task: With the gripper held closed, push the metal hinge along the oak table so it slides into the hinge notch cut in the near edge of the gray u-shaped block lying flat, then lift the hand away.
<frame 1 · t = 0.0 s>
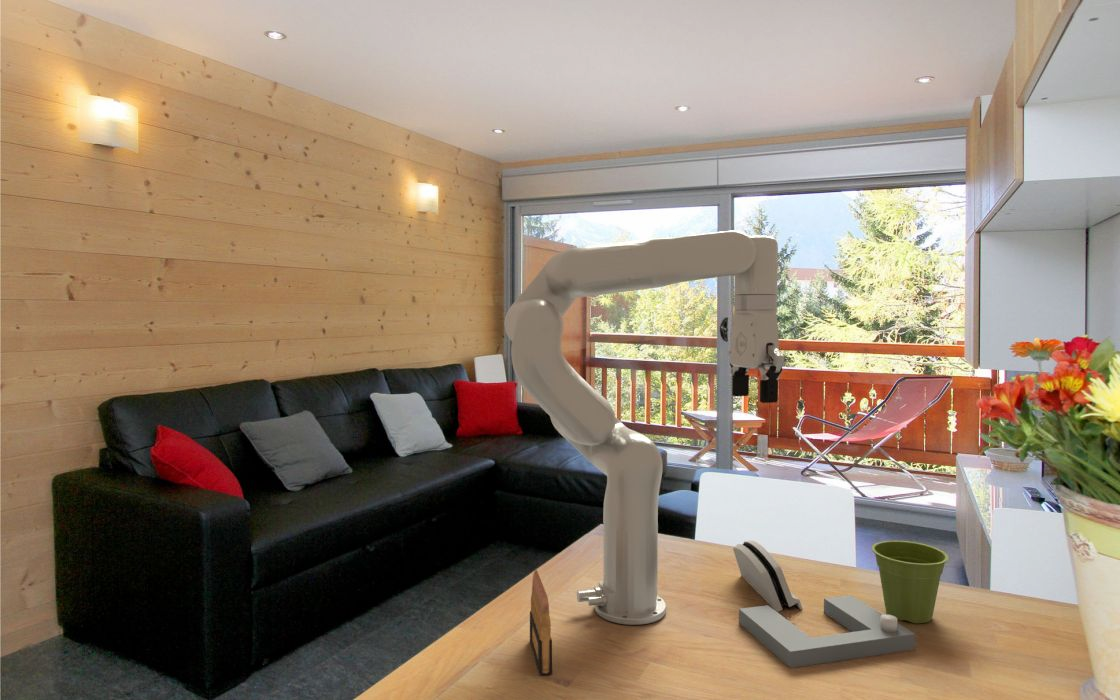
hand: (754, 399, 123), 37 cm above the table, tool pointing down, fingers open, 9 cm apart
plant pot: (907, 616, 117), on the table
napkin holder: (540, 658, 103), on the table
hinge: (763, 593, 127), on the table
gray u-shaped block: (823, 635, 110), on the table
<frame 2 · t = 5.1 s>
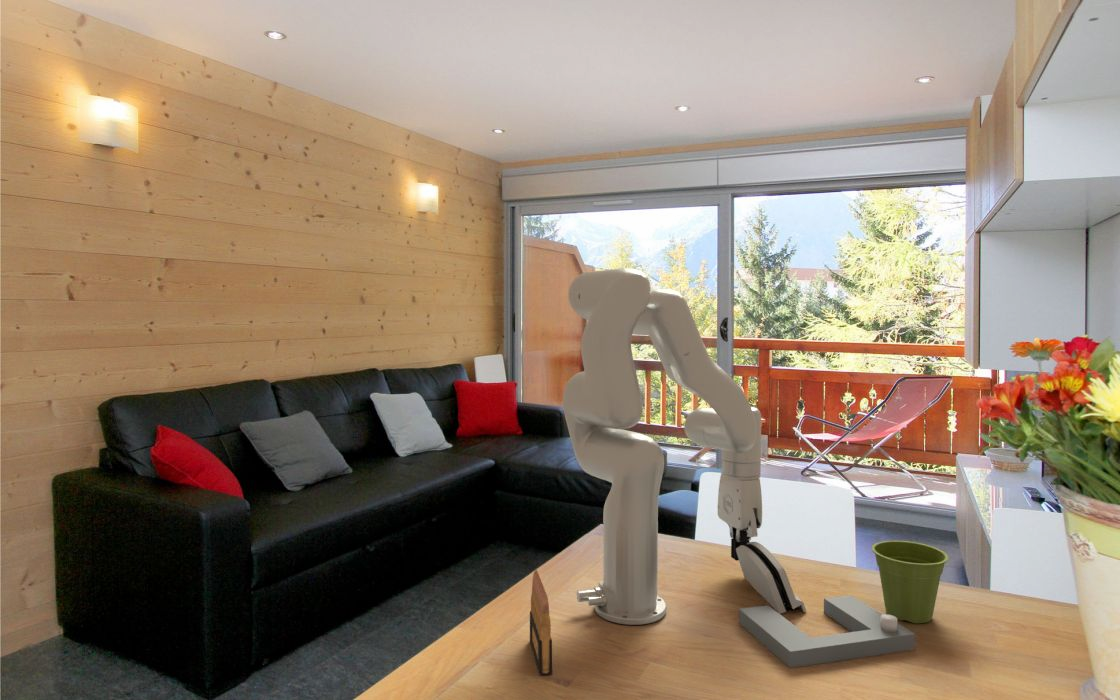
hand: (740, 558, 136), 3 cm above the table, tool pointing down, fingers closed
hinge: (766, 595, 126), on the table, touching gripper
everything else where it was.
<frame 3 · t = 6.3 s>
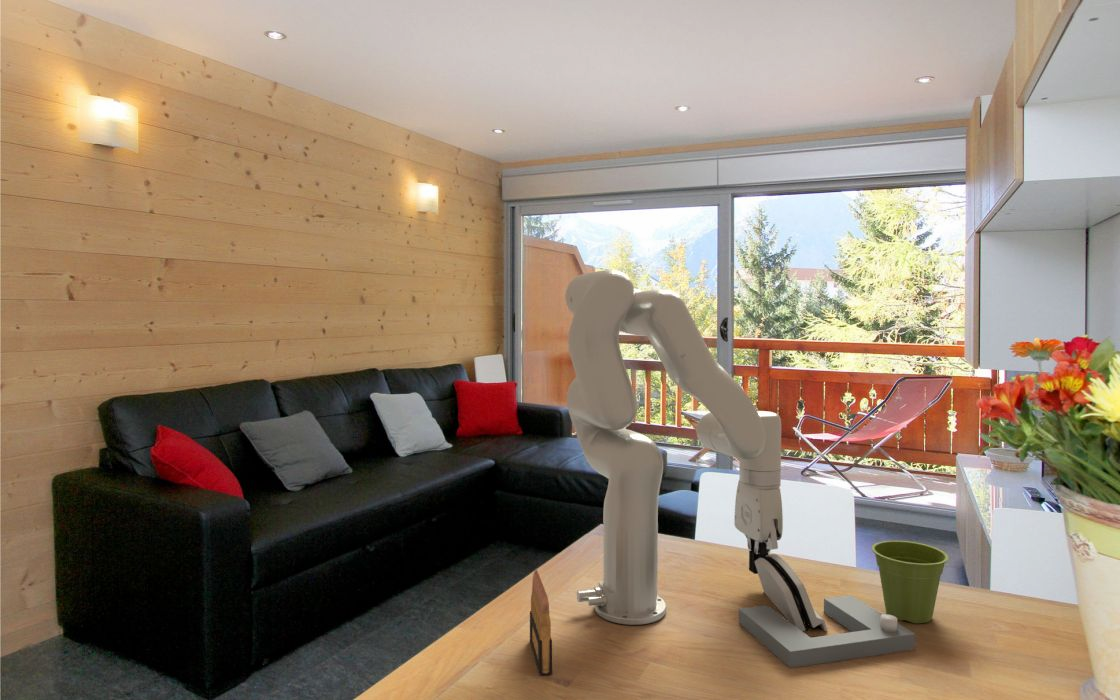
hand: (758, 571, 129), 3 cm above the table, tool pointing down, fingers closed
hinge: (786, 611, 119), on the table, touching gripper
everything else where it was.
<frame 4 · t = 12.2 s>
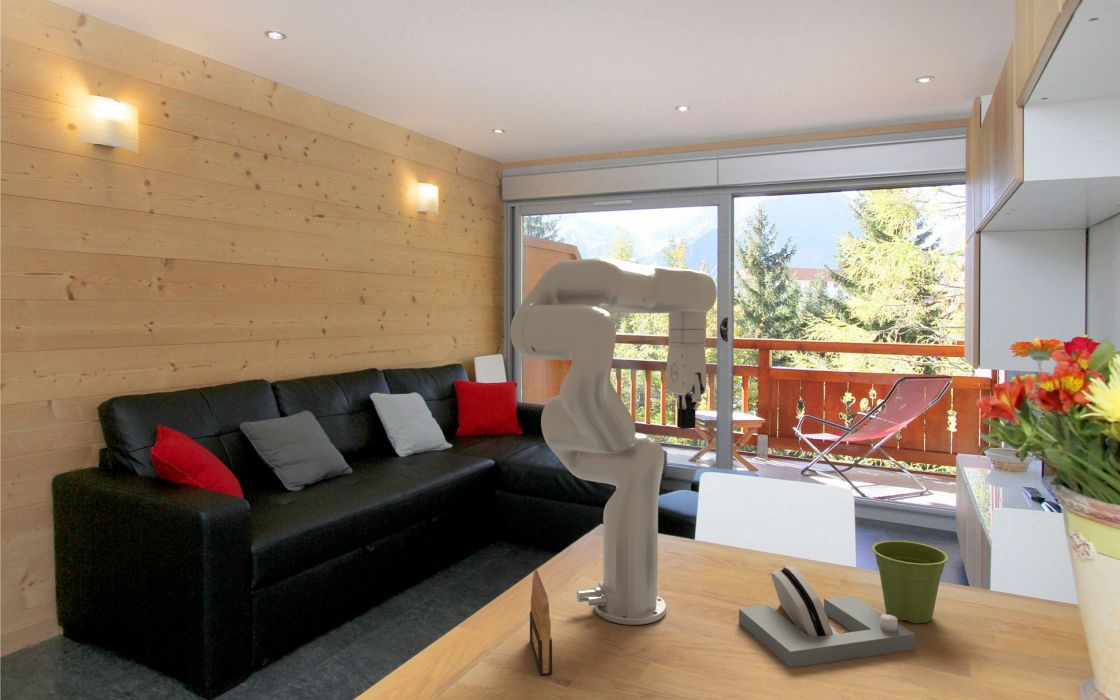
hand: (686, 427, 138), 29 cm above the table, tool pointing down, fingers closed
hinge: (802, 627, 114), on the table
everything else where it was.
at the end: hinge inside the target area (0.9 cm from its centre), on the table; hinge tilted 2°; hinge moved 13.9 cm from its start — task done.
